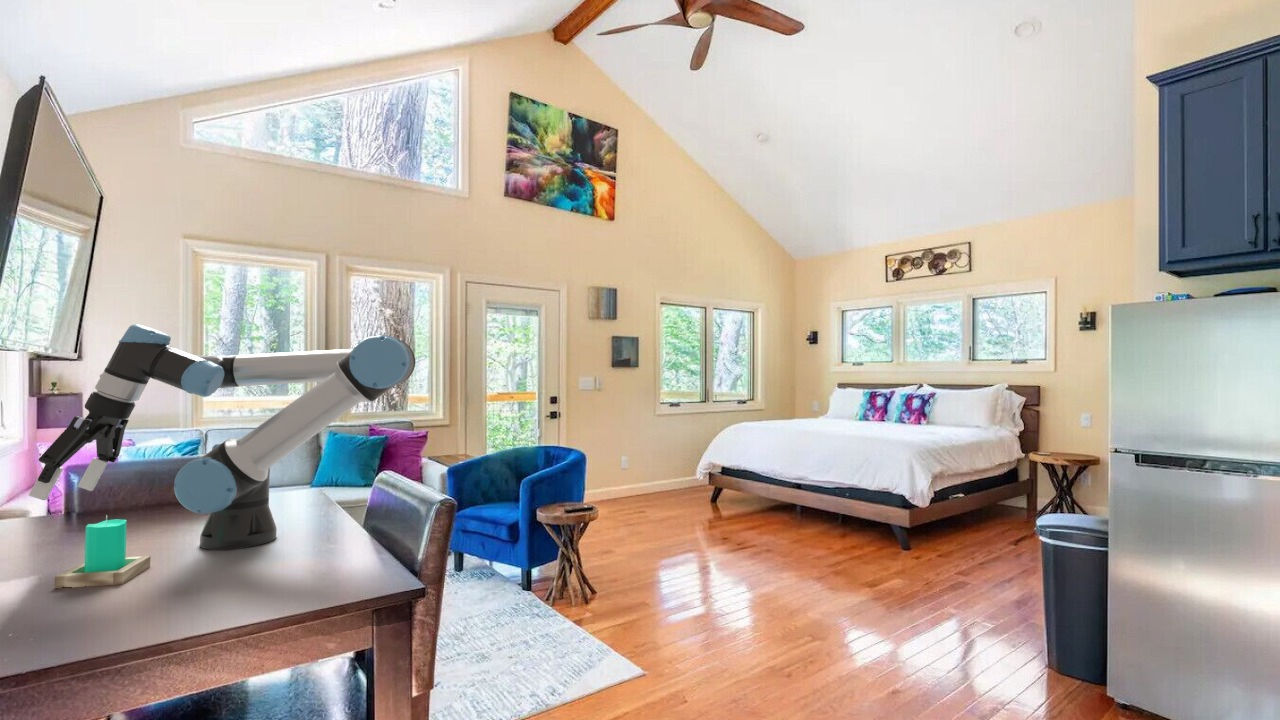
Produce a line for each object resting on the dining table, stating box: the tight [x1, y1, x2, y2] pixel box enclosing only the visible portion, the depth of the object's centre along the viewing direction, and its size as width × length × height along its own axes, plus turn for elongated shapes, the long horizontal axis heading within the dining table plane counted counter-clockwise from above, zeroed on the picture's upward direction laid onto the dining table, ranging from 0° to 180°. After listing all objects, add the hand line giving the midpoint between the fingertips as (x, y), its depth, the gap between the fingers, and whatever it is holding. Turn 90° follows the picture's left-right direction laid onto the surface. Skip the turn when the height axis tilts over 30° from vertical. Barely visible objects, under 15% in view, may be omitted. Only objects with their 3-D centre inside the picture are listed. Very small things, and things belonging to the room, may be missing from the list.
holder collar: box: [53, 555, 152, 589], centre depth 119 cm, size 10×10×2 cm
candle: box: [84, 514, 128, 573], centre depth 119 cm, size 6×6×12 cm
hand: (62, 493), depth 124 cm, fingers open, 13 cm apart
